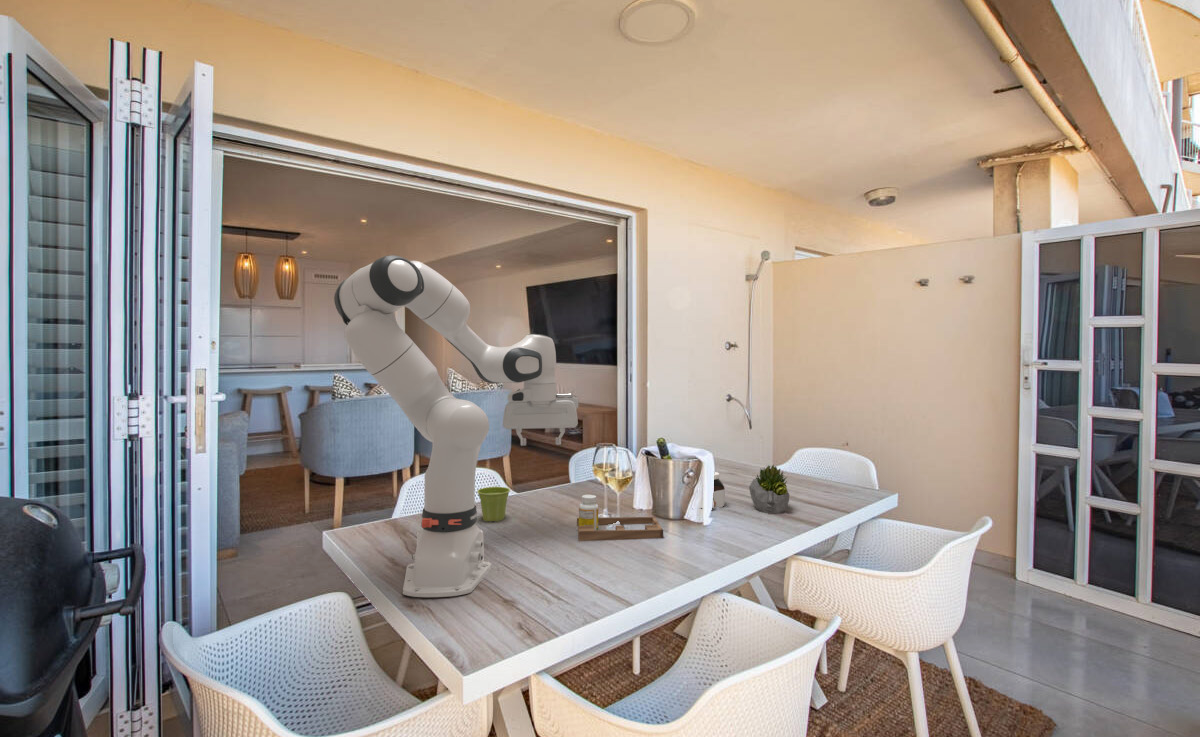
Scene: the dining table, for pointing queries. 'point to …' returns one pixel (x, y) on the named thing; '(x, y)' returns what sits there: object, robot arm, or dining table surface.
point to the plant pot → (493, 502)
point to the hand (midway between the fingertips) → (540, 444)
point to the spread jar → (718, 492)
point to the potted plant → (769, 491)
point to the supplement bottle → (588, 511)
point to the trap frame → (621, 529)
